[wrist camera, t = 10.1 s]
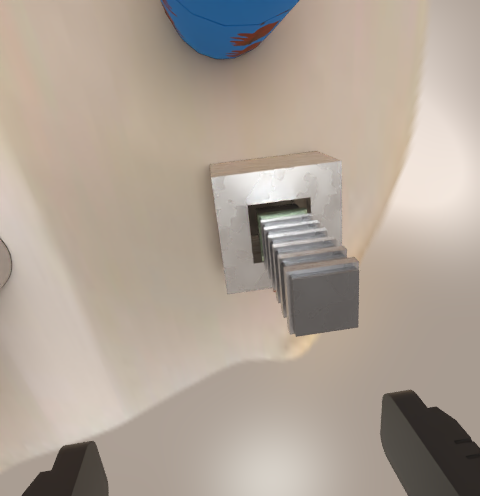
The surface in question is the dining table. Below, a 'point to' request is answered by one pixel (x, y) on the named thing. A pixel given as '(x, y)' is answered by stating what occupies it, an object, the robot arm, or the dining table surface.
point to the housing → (265, 191)
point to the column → (308, 271)
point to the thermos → (225, 23)
